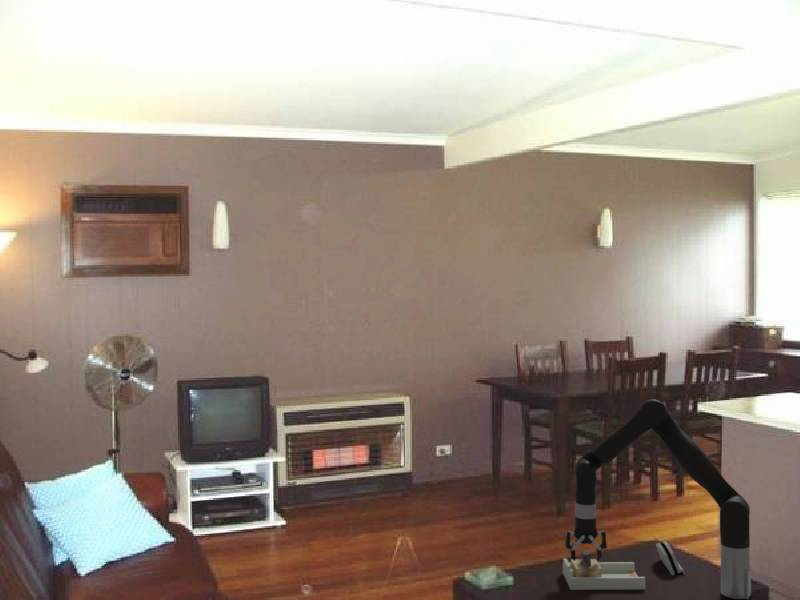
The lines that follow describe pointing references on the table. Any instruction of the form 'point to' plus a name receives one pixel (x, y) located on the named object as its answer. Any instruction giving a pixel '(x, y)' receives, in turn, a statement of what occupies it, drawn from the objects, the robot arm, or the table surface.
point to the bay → (606, 577)
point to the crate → (586, 566)
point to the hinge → (669, 558)
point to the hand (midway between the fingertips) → (585, 559)
